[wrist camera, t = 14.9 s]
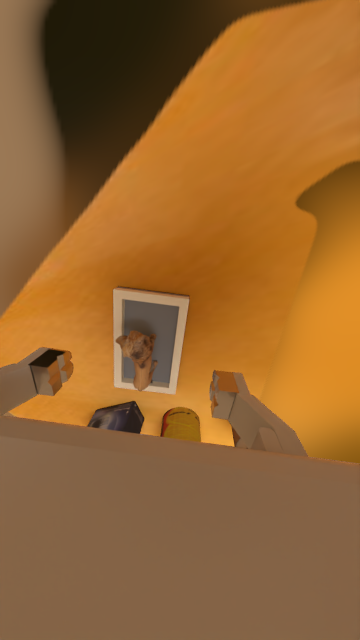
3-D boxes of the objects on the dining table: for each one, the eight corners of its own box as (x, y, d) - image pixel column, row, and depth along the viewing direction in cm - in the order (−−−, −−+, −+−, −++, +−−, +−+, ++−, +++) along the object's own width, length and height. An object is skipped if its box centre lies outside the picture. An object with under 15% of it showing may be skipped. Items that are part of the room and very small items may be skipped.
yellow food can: (171, 402, 43) (166, 456, 32) (205, 415, 44) (212, 471, 33) (157, 426, 46) (147, 483, 35) (189, 438, 47) (190, 496, 36)
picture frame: (189, 295, 34) (189, 299, 31) (175, 386, 41) (175, 394, 39) (118, 286, 33) (113, 289, 31) (118, 379, 41) (114, 387, 39)
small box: (134, 398, 43) (119, 443, 33) (145, 418, 45) (133, 465, 36) (95, 408, 45) (69, 453, 35) (107, 427, 47) (86, 474, 37)
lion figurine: (126, 319, 35) (107, 341, 26) (154, 316, 34) (143, 338, 26) (141, 381, 40) (129, 417, 31) (165, 380, 39) (159, 415, 31)
